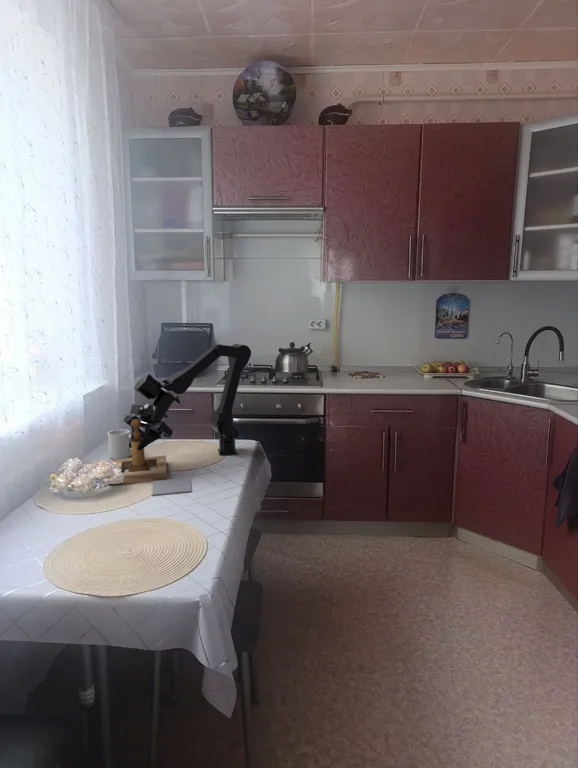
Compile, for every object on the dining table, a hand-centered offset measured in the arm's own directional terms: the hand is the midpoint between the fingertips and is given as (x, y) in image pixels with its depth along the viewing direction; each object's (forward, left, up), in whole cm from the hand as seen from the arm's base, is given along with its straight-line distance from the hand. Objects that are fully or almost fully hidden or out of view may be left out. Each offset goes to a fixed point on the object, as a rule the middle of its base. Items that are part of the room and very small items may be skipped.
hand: (133, 448), depth 164 cm
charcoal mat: (+14, +11, -9) cm, 20 cm away
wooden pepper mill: (-1, +1, -9) cm, 9 cm away
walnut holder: (-1, +1, -9) cm, 9 cm away
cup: (-20, -5, -9) cm, 22 cm away
